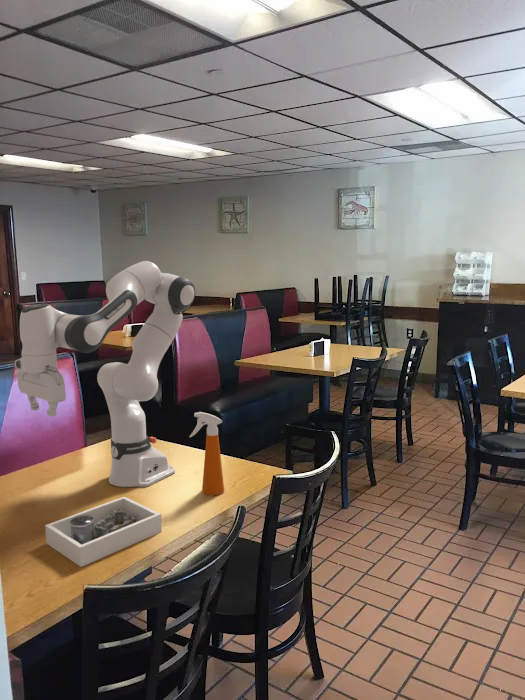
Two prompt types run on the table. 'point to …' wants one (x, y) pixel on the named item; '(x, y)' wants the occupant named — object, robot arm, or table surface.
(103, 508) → the tote
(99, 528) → the egg carton
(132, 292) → the robot arm
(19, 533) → the table surface
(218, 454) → the spray bottle
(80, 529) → the metal tin
